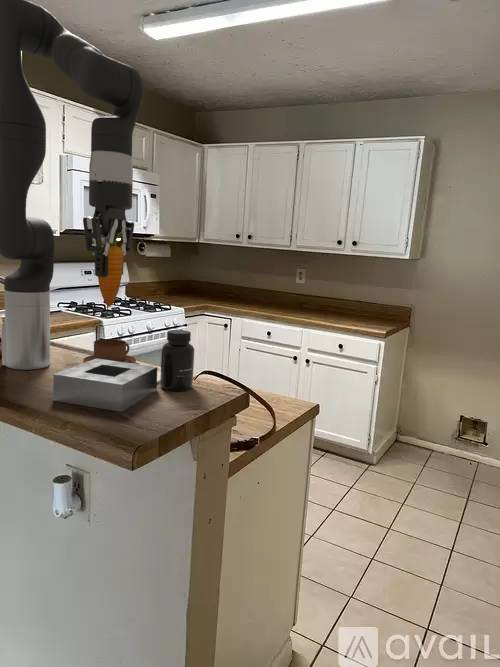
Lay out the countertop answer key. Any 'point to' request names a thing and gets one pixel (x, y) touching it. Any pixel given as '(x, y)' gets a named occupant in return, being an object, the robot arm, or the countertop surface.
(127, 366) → the metal housing
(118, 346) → the cup and saucer
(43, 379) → the countertop surface
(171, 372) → the supplement bottle
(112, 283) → the carrot
